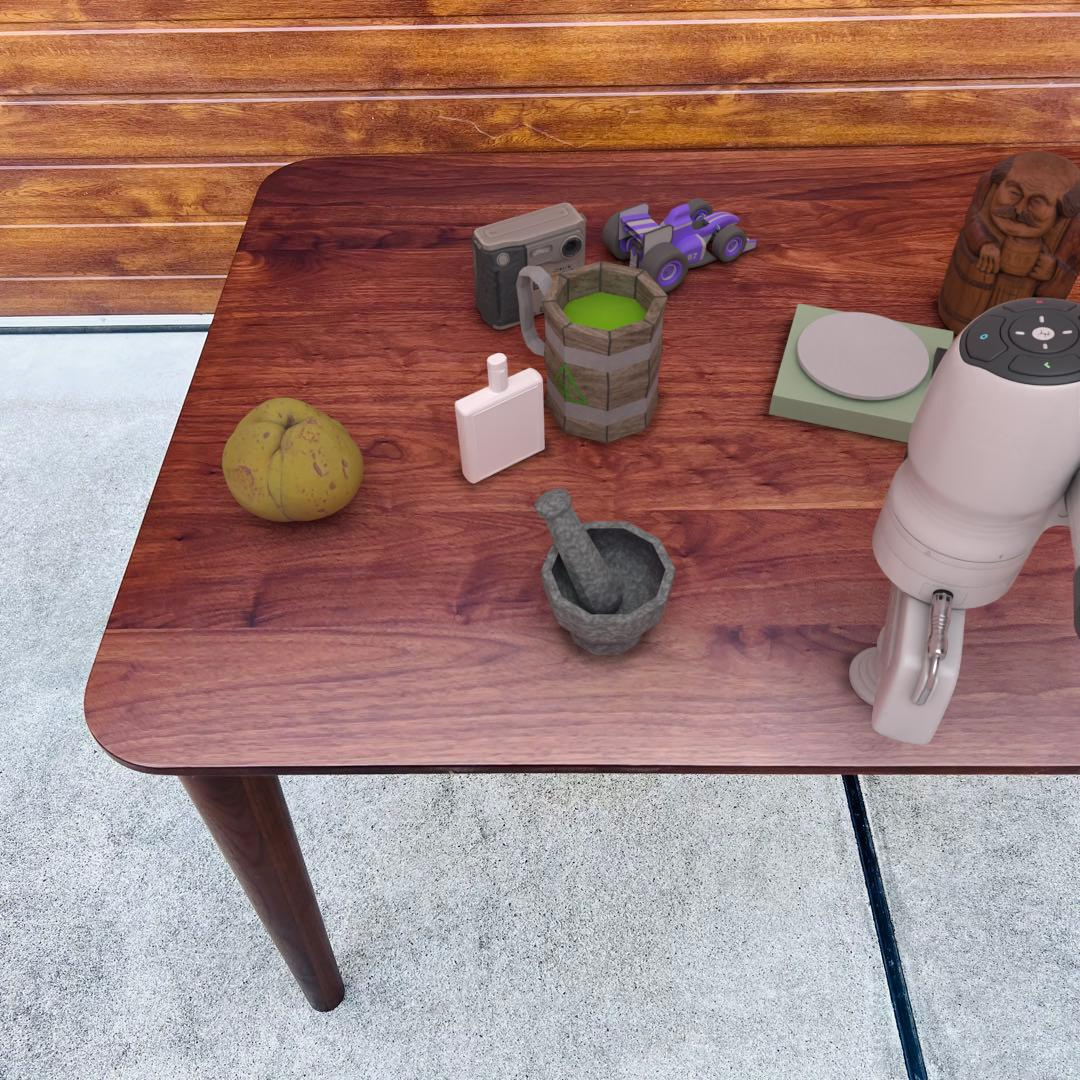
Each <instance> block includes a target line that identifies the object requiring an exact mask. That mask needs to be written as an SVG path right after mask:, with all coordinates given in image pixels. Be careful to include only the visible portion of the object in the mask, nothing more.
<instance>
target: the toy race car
mask: <svg viewBox="0 0 1080 1080" xmlns="http://www.w3.org/2000/svg"><path fill="white" fill-rule="evenodd" d="M649 207H650V206H649V204H648V203H646V202H642V203H641V202H640V203H639V204H636V205H634V206H631V207H628V208H625V209H621V210H619V211H617V212H615V213H614V214H612V216H610V218H608V220H607V221H606V223H605V225H604V227H603V229H602V233H601V239H602V240H601V241H602V244H603V247H605V248H606V249H607V250H608V251H609V252H610V253H611V254H612V255H613V256H614V257H616V259H619V260H621V261H622V260H623V261H626V260H629V267H632V268H637V269H642V270H645V271H646V272H647V273H648V274H649V275H650V276H651V278H652V279H653V280H654V281H655V282H656V283H657V284H658V286H659V287H660V288H661V289H662V290H663V291H664V292H665V294H666V295H667V294H669V293H671V292H673V291H674V290H675V289H677V288H678V287H679V286H680V285H682V283H683V281H684V280H685V278H686V277H687V274H688V271H689V269H692V268H698V267H701V266H704V265H707V264H710V263H712V262H715V261H718V259H719V260H720V261H721V262H723V263H731V262H733V261H736V259H738V258H739V257H740V256H741V255H742V254H743V253H746V252H748V251H751V250H753V249H754V250H755V249H756V247H757V244H758V240H757V239H755V238H753V239H749V238H748V237H747V234H746V232H745V231H743V230H742V229H741V228H740V227H738V226H737V225H736V224H739V223H740V222H741V218H739V217H738V216H737V215H734V214H733V213H730V212H729V211H714V210H713V207H712V206H711V204H709V203H708V202H707V201H706V200H705V199H703V198H702V197H694V198H692V199H690V200H689V201H687V203H683V204H681V205H680V204H679V205H678V206H676V207H674V208H672V209H671V210H670V211H669V213H668V215H667V216H666V217H665V218H663V221H662V222H660V224H659V223H657V222H656V221H655V220H653V217H652V216H651V215H650V214H649ZM709 241H710V242H712V244H711V252H712V254H711V252H709V251H708V250H707V244H708V243H709Z"/></svg>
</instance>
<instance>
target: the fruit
mask: <svg viewBox="0 0 1080 1080" xmlns="http://www.w3.org/2000/svg"><path fill="white" fill-rule="evenodd" d="M221 466H222V473H223V477H224V481H225V482H226V485H227V488H228V490H229V491H230V493H231V495H232V496H233V497H234V499H235V501H236V502H237V503H238V504H239V505H240V507H242V508H243V509H244V510H246V511H247V512H249V513H250V514H251V515H255V516H256V517H259V518H262V519H264V520H267V521H272V522H279V523H280V522H281V523H286V522H288V523H289V522H309V521H314V520H320V519H323V518H325V517H329V516H331V515H333V514H336V513H337V512H338V511H340V510H342V509H344V508H345V507H347V506H348V505H349V504H350V503H351V501H352V500H353V499H354V498H355V496H356V495H357V493H358V491H359V489H360V487H361V486H362V482H363V479H364V473H365V464H364V457H363V455H362V452H361V450H360V447H359V446H358V445H357V443H356V442H355V440H354V439H353V438H352V437H351V435H350V433H349V432H348V430H347V429H346V427H345V426H344V425H343V424H342V423H341V422H340V421H338V420H337V419H334V418H332V417H330V416H329V415H328V414H326V413H324V412H323V411H320V409H317V408H316V407H315V406H314V405H311V404H310V403H307V402H304V401H303V400H300V399H297V398H293V397H276V398H271V399H267V400H266V401H264V402H262V403H260V404H259V405H257V406H256V407H255V408H252V410H250V411H249V412H248V413H247V414H245V416H244V417H243V418H242V419H241V420H240V421H239V422H238V424H237V426H236V427H235V429H234V431H233V433H232V434H231V435H230V436H229V438H228V440H227V441H226V443H225V445H224V448H223V452H222V458H221Z"/></svg>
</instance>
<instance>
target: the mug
mask: <svg viewBox="0 0 1080 1080" xmlns="http://www.w3.org/2000/svg"><path fill="white" fill-rule="evenodd" d="M530 278H531V279H532V280H533V281H534V282H535V283H536V284H537V285H538V287H539V288H540V290H541V292H542V293H543V295H544V296H545V297H544V299H543V300H542V305H543V311H544V313H543V316H544V331H545V332H544V333H545V337H544V340H542V339H541V337H539V335H538V332H537V329H536V326H535V318H534V317H535V316H534V314H533V299H532V293H531V287H530ZM516 287H517V294H518V301H519V313H520V330H521V335H522V337H523V340H524V343H525V345H526V347H527V348H528V349H529V350H530V351H531V352H532V353H533V354H535V355H536V356H539V357H542V358H543V361H544V366H545V367H544V368H545V372H546V395H545V403H544V406H545V407H546V409H547V410H548V412H549V413H550V414H551V416H552V417H553V419H554V420H555V421H554V422H556V423H557V425H558V426H559V428H560V429H561V431H562V432H563V433H564V434H566V435H567V434H568V435H571V436H576V437H580V438H583V439H587V440H593V441H597V442H600V443H604V444H608V443H610V442H613V441H616V440H619V439H623V438H625V437H628V436H630V435H634V434H637V433H639V432H642V431H645V430H647V428H648V426H649V424H650V422H651V419H652V417H653V415H654V413H655V410H656V408H657V406H658V403H659V401H660V398H659V397H660V396H659V375H660V367H661V361H662V358H663V357H662V356H663V351H664V350H663V325H664V315H665V311H666V310H665V309H666V306H667V302H668V297H669V296H668V294H667V293H666V294H665V292H664V291H663V290H662V289H661V288H660V287H659V286H658V284H657V283H656V282H655V281H654V280H653V279H652V278H651V276H650V275H649V274H648V273H647V272H646V271H645V270H642V269H637V268H632V267H630V266H627V265H621V264H615V263H611V262H607V261H601V260H600V261H596V262H592V263H589V264H585V266H582V267H579V268H576V269H572V270H569V271H566V272H562V273H559V274H558V275H557V277H556V278H555V280H554V281H553V280H552V278H551V276H550V275H549V274H548V273H547V272H546V271H545V270H544V269H543V268H542V267H540V266H526V267H524V268H523V269H522V270H521V271H520V272H519V275H518V279H517V283H516Z"/></svg>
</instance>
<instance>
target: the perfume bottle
mask: <svg viewBox="0 0 1080 1080" xmlns="http://www.w3.org/2000/svg"><path fill="white" fill-rule="evenodd" d="M486 366H487V367H486V368H487V381H488V386H485V387H484V388H481V389H479V390H477V391H474V392H473V393H471V394H469V395H467V396H464V397H462V398H460V399H458V400H456V401H455V402H454V411H455V419H456V429H457V438H458V445H459V453H460V463H461V469H462V475H463V477H464V478H465V479H466V480H467V481H468V483H470V484H472V485H473V484H474V485H475V484H477V483H479V482H480V481H483V480H484V479H487V478H488V477H491V476H493V475H495V474H497V473H498V472H501V471H503V470H505V469H508V468H509V467H511V466H514V465H516V464H517V463H519V462H521V461H524V460H526V459H527V458H530V457H532V456H534V455H536V454H538V453H540V452H542V451H544V450H545V449H546V442H545V440H546V439H545V410H544V409H545V408H544V406H545V403H544V379H543V377H542V374H540V372H538V370H536V369H535V368H532V367H528V368H526V369H524V370H522V371H519V372H517V373H514V374H513V375H510V376H509V372H508V369H509V368H508V357H507V356H506V355H505V354H504V353H501V352H497V353H494V354H492V355H489V356H488V357H487V360H486Z"/></svg>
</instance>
